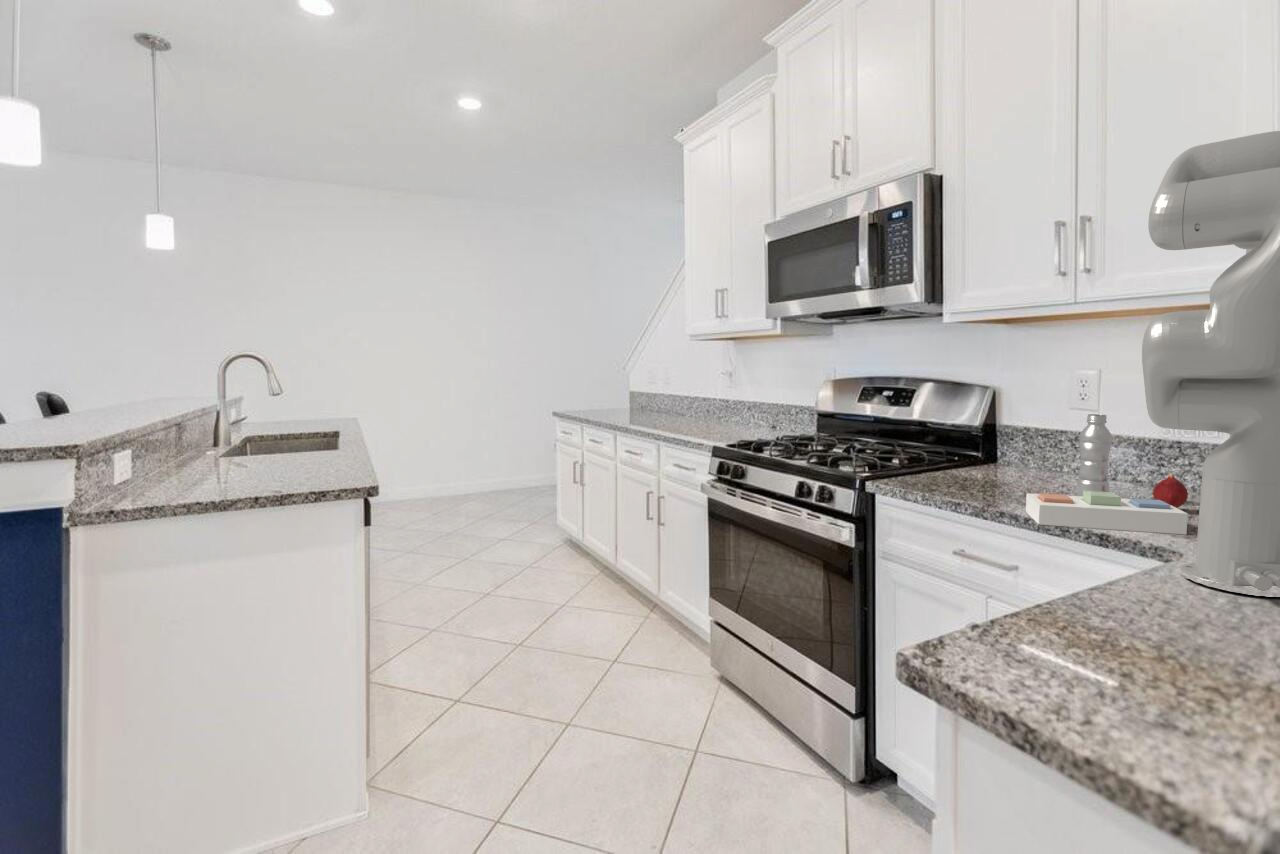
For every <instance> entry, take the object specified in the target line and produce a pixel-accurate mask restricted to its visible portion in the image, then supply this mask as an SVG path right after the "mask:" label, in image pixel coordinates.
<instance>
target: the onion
mask: <svg viewBox="0 0 1280 854" xmlns="http://www.w3.org/2000/svg"><path fill="white" fill-rule="evenodd" d="M1152 496H1153V500H1161V501H1163V502H1165V503H1167V504H1169V505H1171V506H1173V507H1175V508H1177V509H1179V507H1181V506H1182V505H1184V504H1185V503H1186V502H1187V499H1188V498H1189V497H1188V496H1189V492H1188V489H1187V488H1186V486H1185V485H1184V484H1183V483H1182V481H1180V480H1178V479H1177V478H1176V477H1175V475H1174V474H1171V473H1169V474H1168V475H1167V478H1164V479H1163V480H1161V481H1159V482H1157V484H1155V486H1154V487H1153V491H1152Z"/></svg>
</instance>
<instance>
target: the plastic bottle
mask: <svg viewBox="0 0 1280 854" xmlns="http://www.w3.org/2000/svg"><path fill="white" fill-rule="evenodd" d="M1086 423H1087V424H1086V426H1085V427H1084V428H1083V429H1082V431H1081V432H1080V433H1079V436H1078V441H1079V443H1078V444H1079V453H1080V467H1079V472H1078V473H1079V474H1078V478H1077V481H1076V485H1075V491H1076V495H1077V496H1083V491H1095V492H1111V490H1110V482H1109V472H1108V471H1109V468H1108V465H1109V459H1110V453H1111V447H1112V442H1113V437H1112V435H1113V434H1111V432H1110V430H1109V429H1108V427H1107V426H1106V424H1107V414H1099V413H1098V414H1095V413H1094V414H1093V413H1092V414H1089V413H1087V419H1086Z"/></svg>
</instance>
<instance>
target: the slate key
mask: <svg viewBox="0 0 1280 854" xmlns="http://www.w3.org/2000/svg"><path fill="white" fill-rule="evenodd" d="M1129 499H1130V500H1129V503H1130V504H1132V505H1134V506H1136V507H1138V508H1155V509H1170V505H1169V504H1167V503H1165V502H1163V501H1161V500H1155V499H1151V498H1150V499H1149V498H1148V499H1147V498H1129Z"/></svg>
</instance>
